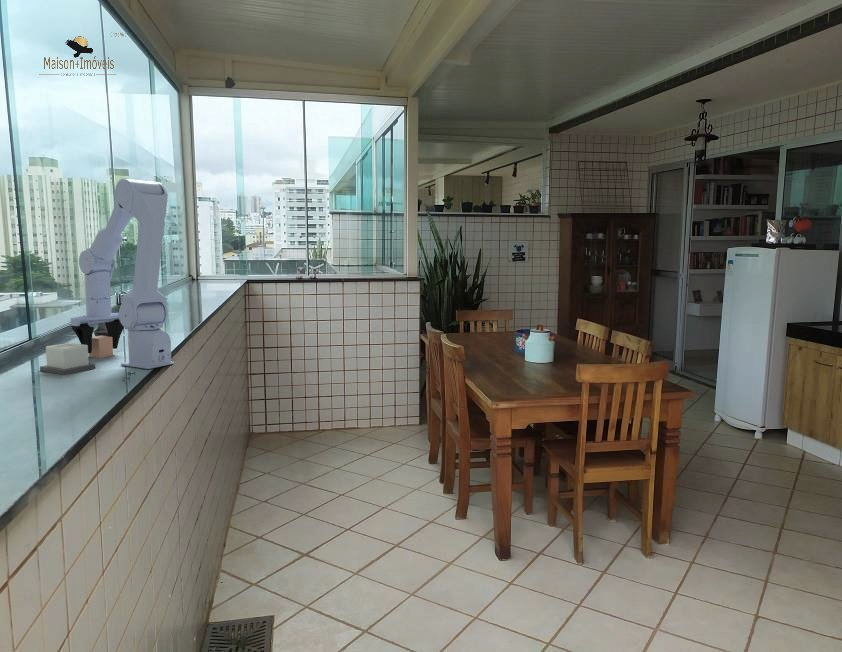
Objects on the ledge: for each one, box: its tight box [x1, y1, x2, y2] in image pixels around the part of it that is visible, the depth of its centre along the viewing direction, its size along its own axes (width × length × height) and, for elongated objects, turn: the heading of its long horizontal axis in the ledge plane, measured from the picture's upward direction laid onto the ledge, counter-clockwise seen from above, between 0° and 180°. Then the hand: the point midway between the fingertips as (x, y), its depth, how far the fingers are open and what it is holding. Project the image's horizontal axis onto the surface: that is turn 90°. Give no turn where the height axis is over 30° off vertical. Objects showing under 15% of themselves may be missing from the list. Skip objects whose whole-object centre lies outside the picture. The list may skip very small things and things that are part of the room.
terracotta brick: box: [88, 335, 114, 359], centre depth 159 cm, size 4×4×5 cm
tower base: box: [39, 342, 97, 376], centre depth 142 cm, size 8×8×6 cm
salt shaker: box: [93, 319, 108, 337], centre depth 177 cm, size 6×6×12 cm
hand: (100, 350), depth 159 cm, fingers open, 7 cm apart
